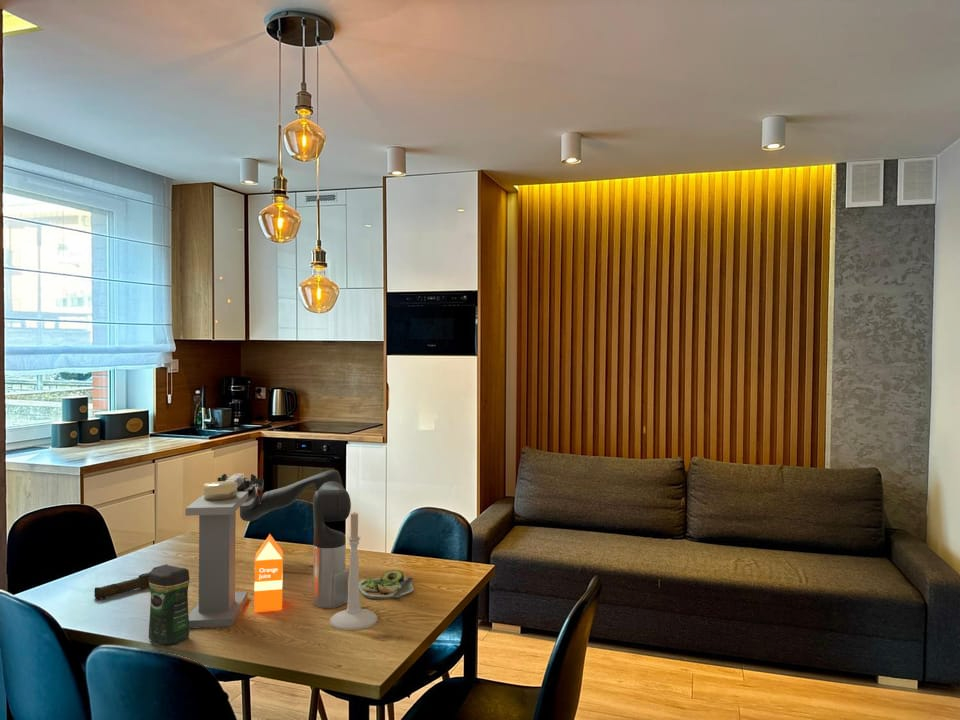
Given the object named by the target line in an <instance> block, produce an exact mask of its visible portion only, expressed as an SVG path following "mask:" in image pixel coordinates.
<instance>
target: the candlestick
mask: <svg viewBox="0 0 960 720" xmlns="http://www.w3.org/2000/svg"><path fill="white" fill-rule="evenodd" d="M347 539H348V540H349V543H348V545H349V546H350V549H351V550H350V551H349V553H350V555H349V556H350V557H349V570H348V602H346V603H347V604H346V606H347V607H346V609H343V610H341V611H338V612H336V613H335V614H334V615H332V616H331V617H330V619H329V625H330V626H331V627H333V628H334V629H337V630H341V631H342V630H344V631H353V630H354V631H358V630H363V629H366V628H369V627H373V626H374V625H375V624H376V623H377V622H378V615H376V613H374V611H372V610H369V609H366V608H361V598H360V597H361V595H360V593H361V592H360V590H359V582H360V576H359V575H360V573H359V550H358V546H359V544H360V540H361V536H359V513H358V512H355V511H354V512H352V513H351V512H350V536H349V537H347Z"/></svg>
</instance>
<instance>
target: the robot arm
mask: <svg viewBox="0 0 960 720" xmlns="http://www.w3.org/2000/svg"><path fill="white" fill-rule="evenodd" d="M228 478H229V477H228V475H227V473H223V475H221V476H219V477H217V481H216V482H218V481H226V480H227V479H228ZM313 485H314V486H315V489H316V491H315V492H314V494H313V497H312V513H313V514H312V515H313V516H312V517H313V518H312V519H313V553H312V554H313V555H312V556H313V559H312V560H313V563H312V565H313V566H312V571H313V572H312V573H313V576H312V585H313V586H312V587H313V588H312V589H313V590H312V593H313V594H312V599H313V600H312V604H313V605H314V606H315V607H317V608H323V609H325V608H326V609H330V608H331V609H332V608H333V609H336V608H338V607H340V606H342V605H345V604H346V603H348V586H349V570H348V569H346V534H345V533H344V532H343V531H340V530H336V529H333V528H330V527H329V526H328V525H326V522H327V523H329V522H331V523H332V522H343V521H345V520H347V519H348V518H349V516H350V515H351V511H352V510H351V507H352V503H351V501H352V500H351V497H350V494H349V492H348V491H347V490H346V489H345V487H344V484H343V481H342V478H341V475H340V472H339V470H338V469H337V470H336V469H328V470H326V471H322V472H320V473H319V472H318V473H317V474H314V475H312V476H309V477H306V478H304V479H301V480H298V481H297V482H294V483H291V484H288V485H286V486H283V487H279V488H276V489H271V490H268V491H264V493H263V494H262V496H261V497H260V494H259V492H257V490H259V491H260V492H261V491H263V490H264V478H263V477H259V478H258V477H257V476H256V475H254V473H251V474H250V477H244V482H243V483H242V484H241V485H240V486H239V487H237V492H248V499H247V500H246V501H245V502H244V503H243V504H242V505H241V506H240V507H239V518H240V519H241V520H242V521H244V522H253V521H255V520H258V519H260V518H261V517H264V515H266V514H268V513H270V512H272V511H276V510H280V509H283V508H285V507H288V506H291V505H292V504H293V503H294V502H295V501H296V500H297V499H298V498H299V497H300V496H301V495H302V493H304V492H305V490H307V489H308V488H309V487H312V486H313Z"/></svg>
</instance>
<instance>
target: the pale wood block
mask: <svg viewBox="0 0 960 720" xmlns="http://www.w3.org/2000/svg"><path fill="white" fill-rule="evenodd" d="M244 475H245V474H244V473H241V472H240V473H239V472H237V473H235V472H234V473H233V474H232V475H231V476H229V477H227V478H228V479H227V480H226V481H218V480H217V481H218V482H217V481H210V482H206V483H204V484H203V495H204V500H206V501H225V500H232V499H235V498H237V487H239V486H240V485H241V484H242V483H243V482H244V478H245V476H244Z"/></svg>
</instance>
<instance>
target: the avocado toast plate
mask: <svg viewBox="0 0 960 720" xmlns="http://www.w3.org/2000/svg"><path fill="white" fill-rule="evenodd" d="M413 580H414V578H413V577H411V576H409V577H408V578H407V577H405V576H404V572H403V571H401V570H399V569H392V570H387V571H385V572H384V573H383V574H382V575H381V577H379V578H367V579H363V580H360V581H359V591H360V593H361V594H362V595H363V596H365V597H366V598H368V599H372V600H386V598H389V599H397V597H398V598H401V597H404V596H407V595H408V594H410V593H412V592H413V591H414V590H415V589H414V586H413V584H412V582H413ZM369 592H371V593H379V592H380V593H379V594H381V595H378V594H377V595H376V594H370V593H369ZM382 594H384V595H382ZM403 595H404V596H403Z"/></svg>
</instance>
